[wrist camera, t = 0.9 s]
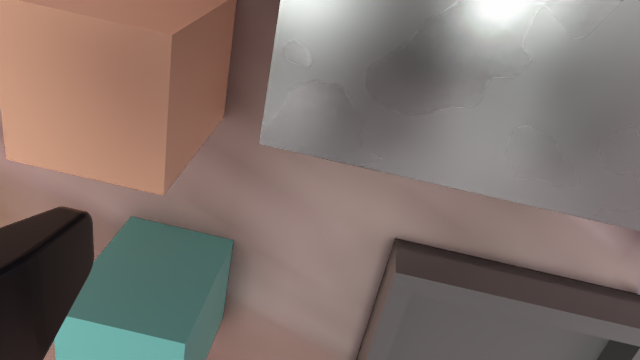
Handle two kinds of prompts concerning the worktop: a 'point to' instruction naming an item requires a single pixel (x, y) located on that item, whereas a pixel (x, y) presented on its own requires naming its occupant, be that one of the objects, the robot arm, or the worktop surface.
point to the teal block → (149, 297)
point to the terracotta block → (113, 85)
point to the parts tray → (493, 312)
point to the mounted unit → (468, 96)
